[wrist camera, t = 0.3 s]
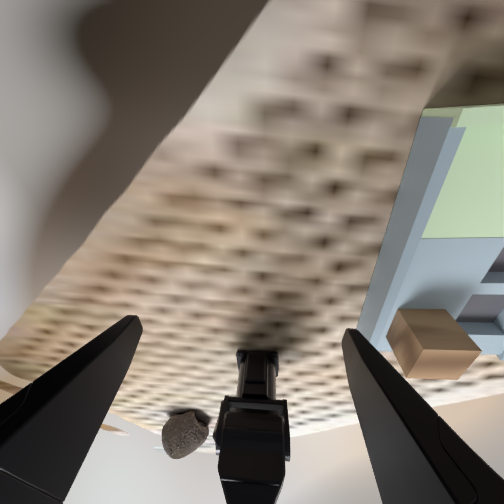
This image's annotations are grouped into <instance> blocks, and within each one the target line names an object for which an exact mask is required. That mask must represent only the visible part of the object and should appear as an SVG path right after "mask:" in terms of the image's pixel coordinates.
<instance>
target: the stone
mask: <svg viewBox="0 0 504 504" xmlns="http://www.w3.org/2000/svg"><path fill="white" fill-rule="evenodd" d="M208 435H209V429H208V426H207V425H206V424H203V423H201V422H199V421H197V420H196V418H195V414H194V411H191V410H190V411H188V412H186V413H184V414H181V415H179V414H175V415H173V416H172V417H171V418H170V419H169V420H168V421H167V422H166V424H165V425H164V426H163V429H162V443H163V447H164V450H165V452H166V453H167V454H168V455H169V456H170V457H171V458H173V459H180V458H183V457H185V456H187V455H188V454H190V453H192V452H193V451H195V450H196V449H197V448H198V447H200V446H201V445H202V444H203V443H204V442H205V440H206V439H207V436H208Z"/></svg>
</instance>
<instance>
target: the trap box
mask: <svg viewBox="0 0 504 504" xmlns="http://www.w3.org/2000/svg"><path fill="white" fill-rule="evenodd" d="M397 309H446V310H447V312H448V313H449V314H450V315H451V316H452V317H453V318H454V320H455V321H456V322H457V323H458V324H459V325H460V326H461V327H462V329H463V330H464V331H465V332H466V333H467V334H468V335H469V337H470V338H471V339H472V340H473V341H474V342H475V343H476V344H477V346H478V347H479V348H480V349H481V350H482V352H481V353H480V354H496V355H497V357H498V358H499V359H500V360H504V103H503V104H488V105H473V106H458V107H443V108H428V109H423V113H422V116H421V118H420V121H419V125H418V128H417V131H416V134H415V138H414V141H413V144H412V148H411V151H410V154H409V157H408V161H407V164H406V167H405V171H404V174H403V177H402V180H401V184H400V187H399V190H398V194H397V197H396V200H395V203H394V207H393V210H392V213H391V217H390V220H389V223H388V226H387V230H386V233H385V236H384V240H383V243H382V246H381V249H380V253H379V256H378V259H377V263H376V266H375V269H374V272H373V276H372V279H371V282H370V286H369V289H368V292H367V295H366V299H365V302H364V305H363V309H362V312H361V315H360V318H359V322H358V325H357V328H356V329H357V330H359V331H360V332H361V334H362V335H363V336H364V337H365V338H366V339H367V340H368V341H369V342H370V343H371V344H372V345H373V346H374V347H375V348H376V349H377V350H378V351H392V352H393V350H392V349H391V347H390V345H389V343H388V341H387V339H386V335H387V332H388V330H389V328H390V325H391V323H392V320H393V318H394V316H395V313H396V311H397Z"/></svg>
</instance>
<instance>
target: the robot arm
mask: <svg viewBox="0 0 504 504" xmlns="http://www.w3.org/2000/svg"><path fill="white" fill-rule="evenodd" d="M142 331H143V327H142V325H141V322H140V320H139V317H138V316H137V315H127V316H125V317H124V318H122V319H121V320H120V321H118V322H117V323H115V324H114V325H112V326H111V327H110V328H108V329H107V330H105V331H104V332H103V333H101V334H100V335H98V336H97V337H95V338H94V339H93V340H91V341H90V342H88V343H87V344H86V345H84V346H83V347H81V348H80V349H78V350H77V351H76V352H74V353H73V354H71V355H70V356H68V357H67V358H66V359H64V360H63V361H61V362H60V363H59V364H57V365H56V366H54V367H53V368H51V369H50V370H49V371H47V372H46V373H44V374H43V375H41V376H40V377H39V378H37V379H36V380H34V381H33V383H30V384H29V385H27V386H26V387H25V388H23V389H22V390H20V391H19V392H17V393H16V394H14V395H13V396H11V397H10V398H9V399H7V400H6V401H4V402H3V403H1V404H0V504H63V501H64V500H65V498H66V496H67V494H68V492H69V490H70V488H71V486H72V484H73V482H74V480H75V478H76V476H77V473H78V471H79V469H80V467H81V465H82V463H83V461H84V459H85V457H86V455H87V453H88V451H89V449H90V447H91V445H92V443H93V441H94V439H95V437H96V434H97V433H98V431H99V428H100V426H101V424H102V422H103V420H104V418H105V416H106V414H107V412H108V410H109V408H110V406H111V404H112V402H113V400H114V398H115V396H116V394H117V392H118V389H119V387H120V385H121V383H122V381H123V379H124V377H125V375H126V373H127V371H128V369H129V366H130V364H131V362H132V359H133V356H134V353H135V351H136V348H137V345H138V343H139V340H140V337H141V335H142ZM342 350H343V355H344V361H345V367H346V373H347V378H348V383H349V387H350V391H351V394H352V398H353V401H354V405H355V408H356V412H357V415H358V419H359V422H360V426H361V429H362V433H363V436H364V440H365V443H366V447H367V450H368V454H369V458H370V461H371V464H372V468H373V472H374V475H375V479H376V482H377V486H378V489H379V492H380V496H381V500H382V503H383V504H504V479H503V478H502V477H500V476H499V475H498V474H497V473H496V472H495V471H494V470H493V469H492V468H491V467H490V466H489V465H487V463H486V462H485V461H484V460H483V459H482V458H481V457H479V456H478V455H477V454H476V453H475V452H474V451H473V450H472V449H471V448H470V447H469V446H468V445H467V444H466V443H465V442H464V441H463V440H462V439H461V438H460V437H459V436H458V435H457V434H456V433H455V432H454V430H452V429H451V427H450V426H449V425H448V424H447V423H446V422H445V421H444V420H443V419H442V418H441V417H440V416H438V414H437V413H436V412H435V411H434V410H433V408H432V407H431V406H430V405H429V404H428V403H427V402H426V401H425V400H424V399H423V398H422V397H421V396H420V395H419V394H418V393H417V392H416V391H415V389H414V388H413V387H412V386H411V385H410V384H409V383H408V382H407V381H406V380H405V379H404V378H403V377H402V376H401V375H400V374H399V373H398V372H397V370H396V369H395V368H394V367H393V366H392V365H391V364H390V363H389V362H388V361H387V360H386V359H385V358H384V357H383V356H382V355H381V354H380V353H379V351H378V350H377V349H376V348H375V347H374V346H373V345H372V344H371V343H370V342H369V341H368V340H367V339H366V338H365V337H364V336H363V335H362V334H361V332H360V331H359V330H357V329H351V328H347V329H346V331H345V333H344V336H343V339H342ZM236 357H237V363H238V369H239V378H238V386H237V395H236V397H231V396H227V395H225V398H224V400H223V401H221V407H220V413H219V417H218V420H217V423H216V426H215V429H214V432H213V439H214V441H215V446H216V455H219V461H218V472H219V476H220V479H221V484H222V488H223V491H224V495H225V499H226V503H227V504H276V502H277V499H278V497H279V494H280V492H281V489H282V486H283V482H284V477H285V461H290V432H289V420H288V410H287V400H285V399H283V400H276V377H277V376H278V353H277V352H262V351H237V353H236Z"/></svg>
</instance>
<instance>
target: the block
mask: <svg viewBox="0 0 504 504" xmlns="http://www.w3.org/2000/svg"><path fill="white" fill-rule="evenodd" d="M386 339H387V341H388V343H389V345H390V347H391V349H392V350H393V352H394V354H395V356H396V358H397V360H398V362H399V364H400V366H401V368H402V370H403V372H404V374H405V376H406V378H424V379H449V380H458V379H459V378H460V377H461V375H462V374H463V373H464V372H465V371H466V369H467V368H468V367H469V366H470V365H471V364H472V362H473V361H474V360H475V359H476V358H477V357H478V355H479V354H480V353H481V352H482V350H481V349H480V348H479V347H478V346H477V344H476V343H475V342H474V341H473V340H472V339H471V338H470V337H469V335H468V334H467V333H466V332H465V331H464V330H463V329H462V327H461V326H460V325H459V324H458V323H457V322H456V321H455V320H454V318H453V317H452V316H451V315H450V314H449V313H448V312H447V310H446V309H397V311H396V313H395V316H394V318H393V320H392V323H391V325H390V328H389V330H388V332H387V335H386Z"/></svg>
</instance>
